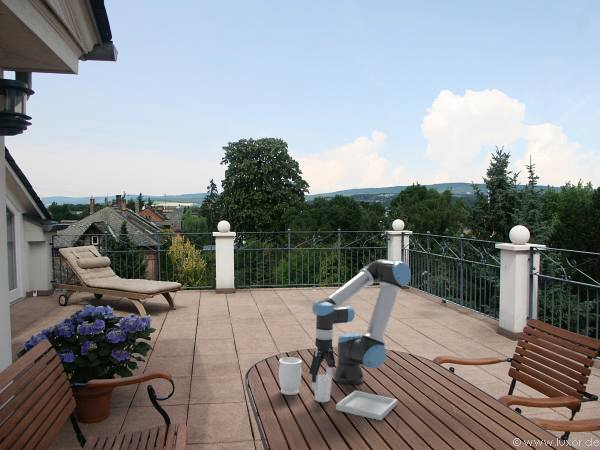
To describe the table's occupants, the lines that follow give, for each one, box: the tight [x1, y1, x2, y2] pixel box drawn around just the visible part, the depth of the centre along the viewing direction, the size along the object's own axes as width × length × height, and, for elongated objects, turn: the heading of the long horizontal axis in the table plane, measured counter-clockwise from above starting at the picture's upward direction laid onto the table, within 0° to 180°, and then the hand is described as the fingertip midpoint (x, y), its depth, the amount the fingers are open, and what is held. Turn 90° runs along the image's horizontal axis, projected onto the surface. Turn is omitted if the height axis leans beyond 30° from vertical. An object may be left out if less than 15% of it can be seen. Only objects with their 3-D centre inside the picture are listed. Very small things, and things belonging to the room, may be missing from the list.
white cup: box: [314, 374, 333, 403], centre depth 213 cm, size 8×8×10 cm
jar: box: [278, 356, 302, 396], centre depth 221 cm, size 11×10×15 cm
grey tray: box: [335, 389, 398, 422], centre depth 205 cm, size 20×20×2 cm
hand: (321, 385), depth 213 cm, fingers open, 13 cm apart
